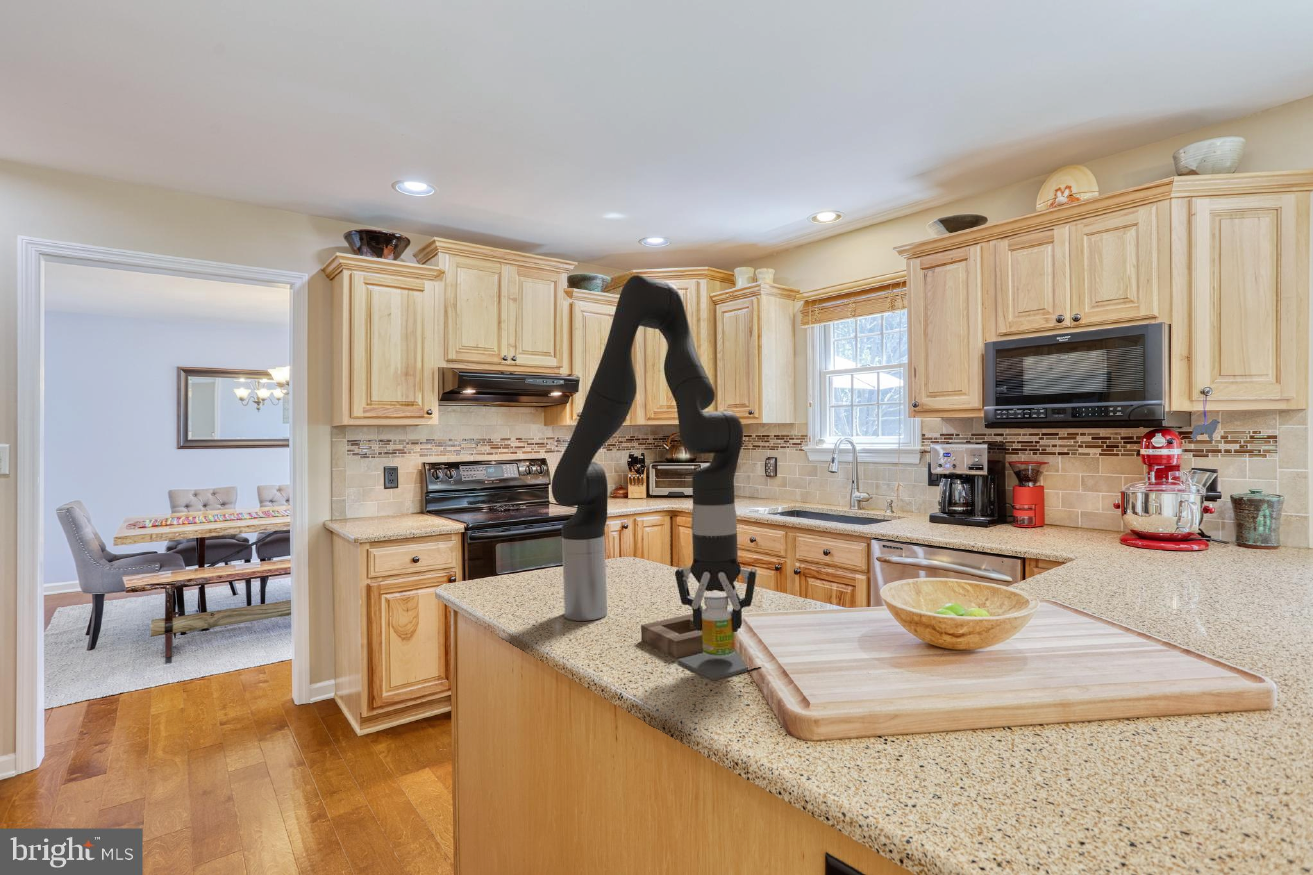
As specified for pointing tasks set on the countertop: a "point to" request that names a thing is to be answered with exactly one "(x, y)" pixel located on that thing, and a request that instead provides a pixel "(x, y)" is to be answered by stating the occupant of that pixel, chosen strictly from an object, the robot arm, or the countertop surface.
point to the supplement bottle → (717, 627)
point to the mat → (715, 665)
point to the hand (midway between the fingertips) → (717, 629)
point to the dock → (673, 636)
